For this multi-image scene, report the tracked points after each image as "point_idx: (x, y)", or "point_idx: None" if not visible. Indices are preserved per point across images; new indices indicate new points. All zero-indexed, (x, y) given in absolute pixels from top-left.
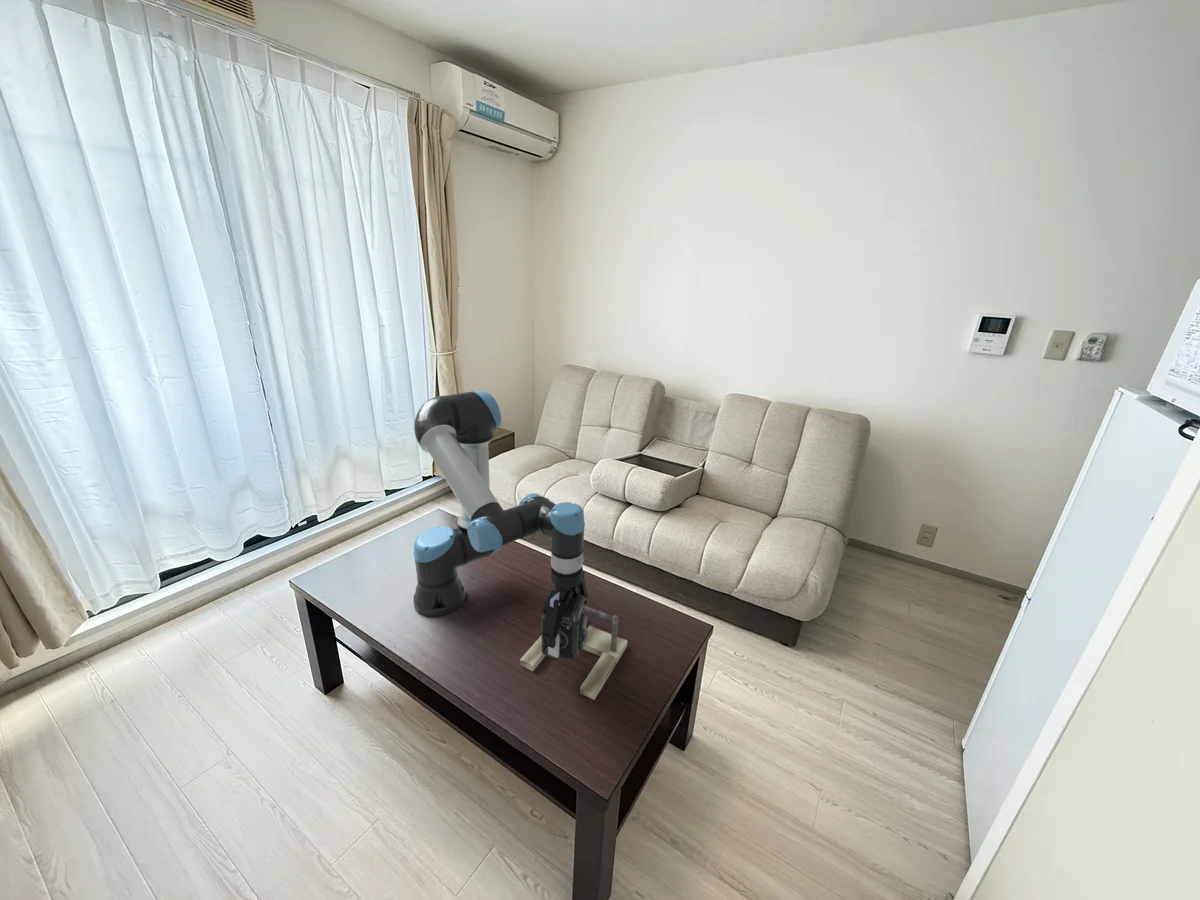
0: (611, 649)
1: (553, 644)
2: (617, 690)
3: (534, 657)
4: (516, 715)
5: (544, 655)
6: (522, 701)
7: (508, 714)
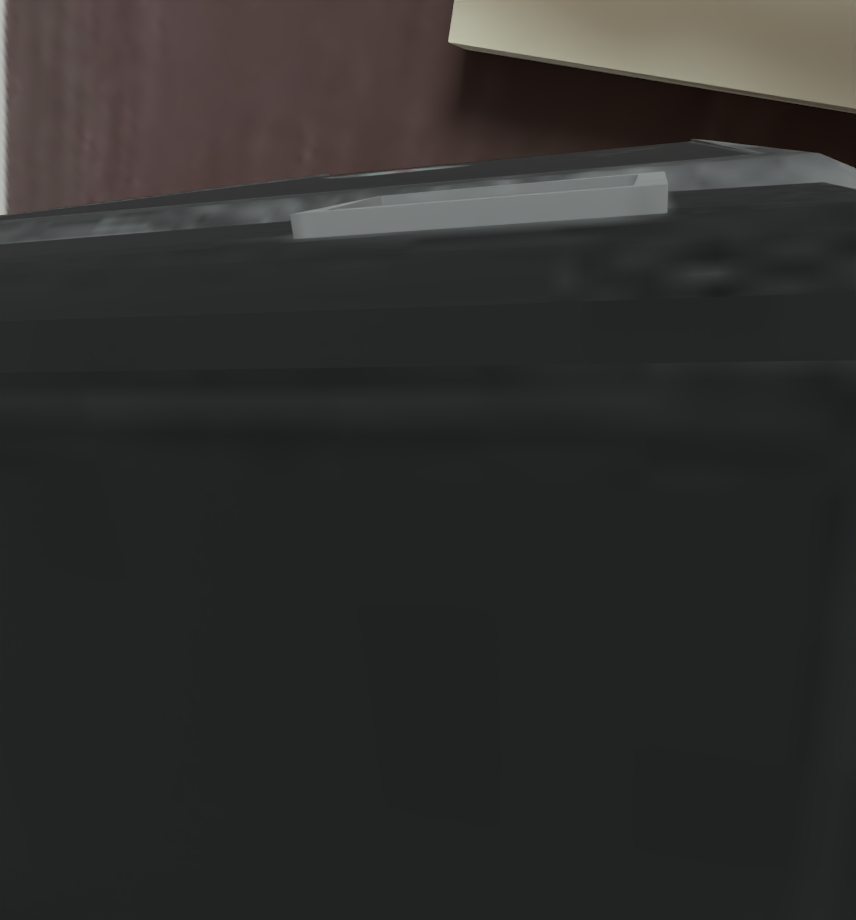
0: None
1: None
2: None
3: (547, 6)
4: (94, 122)
5: (656, 80)
6: (193, 109)
7: (73, 60)
